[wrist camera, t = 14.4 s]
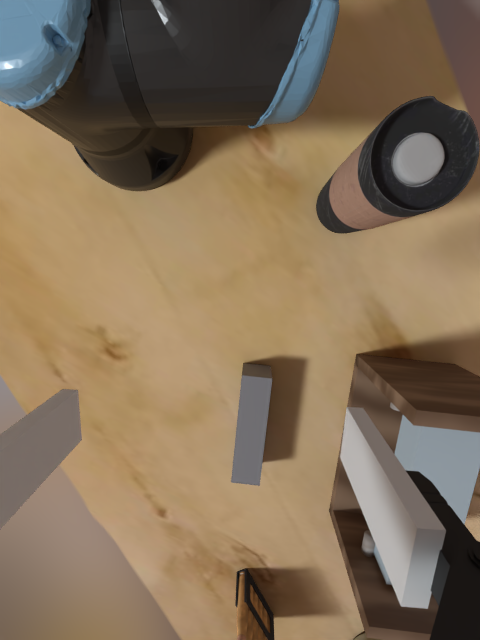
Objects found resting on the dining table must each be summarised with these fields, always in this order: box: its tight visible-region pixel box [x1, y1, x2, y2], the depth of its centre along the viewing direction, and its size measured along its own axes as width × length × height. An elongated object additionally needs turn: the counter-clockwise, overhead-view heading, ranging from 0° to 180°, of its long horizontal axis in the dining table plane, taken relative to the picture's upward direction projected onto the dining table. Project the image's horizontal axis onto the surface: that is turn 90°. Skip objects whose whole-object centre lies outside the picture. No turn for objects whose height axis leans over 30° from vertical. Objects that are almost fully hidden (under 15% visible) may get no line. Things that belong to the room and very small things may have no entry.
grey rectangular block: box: [231, 363, 272, 486], centre depth 45 cm, size 16×4×5 cm, turn 175°
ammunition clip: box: [236, 569, 274, 640], centre depth 48 cm, size 11×2×12 cm, turn 26°
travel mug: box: [316, 96, 479, 233], centre depth 31 cm, size 8×8×20 cm
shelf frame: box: [329, 354, 480, 640], centre depth 39 cm, size 26×14×17 cm, turn 175°
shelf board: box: [374, 415, 480, 585], centre depth 37 cm, size 22×7×4 cm, turn 175°
